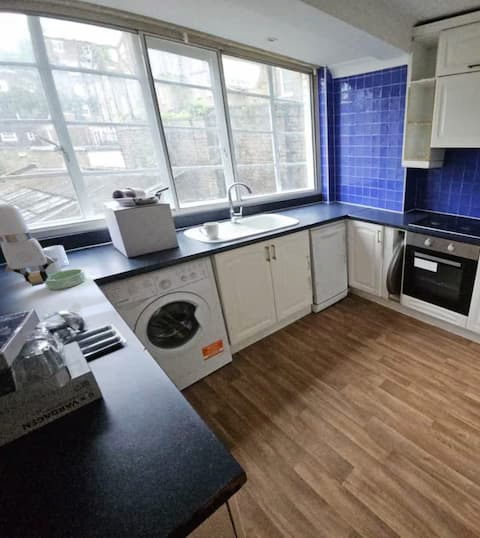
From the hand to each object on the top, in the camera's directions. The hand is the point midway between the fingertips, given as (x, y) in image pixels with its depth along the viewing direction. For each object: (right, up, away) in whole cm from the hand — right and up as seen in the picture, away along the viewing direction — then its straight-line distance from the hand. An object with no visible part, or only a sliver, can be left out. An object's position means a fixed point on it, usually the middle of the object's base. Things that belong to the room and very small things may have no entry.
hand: (38, 280), depth 118 cm
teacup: (-21, +1, +24) cm, 32 cm away
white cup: (-30, +7, +38) cm, 48 cm away
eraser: (0, -1, 0) cm, 1 cm away
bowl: (-4, -2, +16) cm, 17 cm away
